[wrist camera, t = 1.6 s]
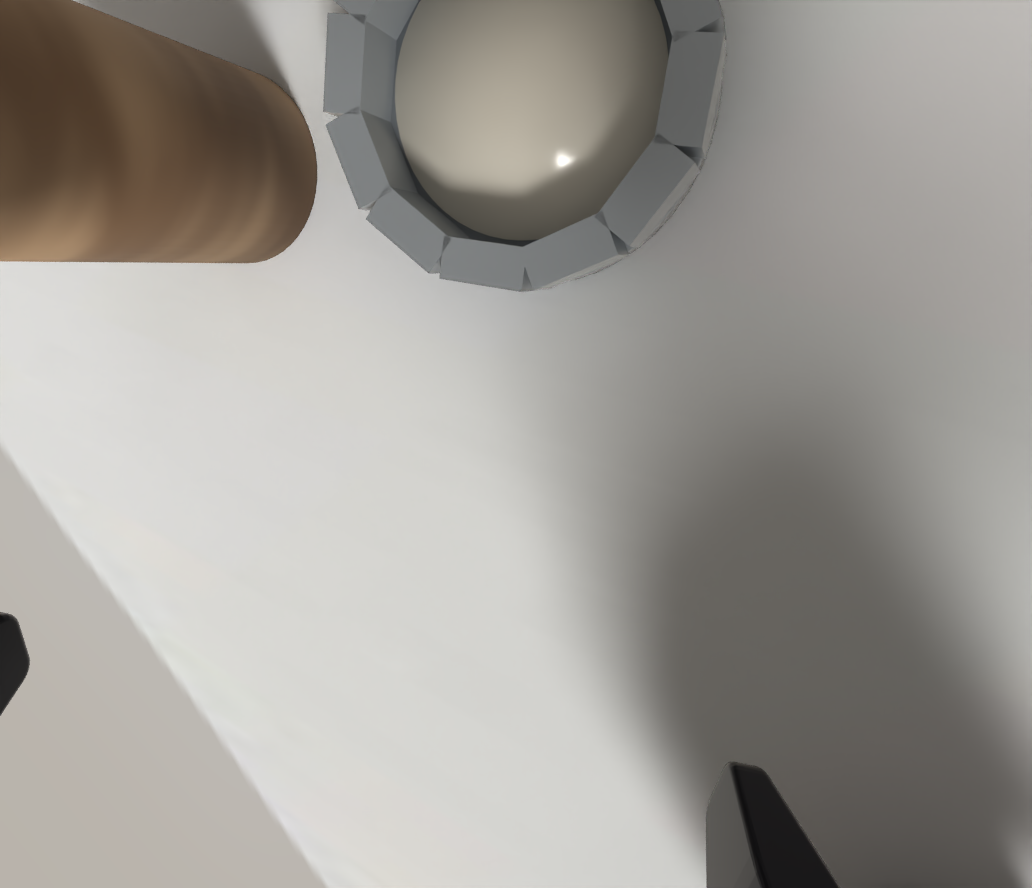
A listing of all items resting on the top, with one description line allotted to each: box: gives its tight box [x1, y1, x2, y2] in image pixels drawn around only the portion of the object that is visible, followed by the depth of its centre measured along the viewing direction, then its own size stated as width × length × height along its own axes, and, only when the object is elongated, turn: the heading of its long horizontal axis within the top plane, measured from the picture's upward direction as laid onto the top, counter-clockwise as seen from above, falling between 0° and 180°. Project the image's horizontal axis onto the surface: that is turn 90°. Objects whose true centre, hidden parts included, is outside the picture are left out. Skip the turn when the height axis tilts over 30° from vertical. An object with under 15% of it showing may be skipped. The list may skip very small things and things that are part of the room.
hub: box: [323, 0, 727, 292], centre depth 16 cm, size 9×9×2 cm
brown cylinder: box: [0, 0, 317, 263], centre depth 14 cm, size 6×6×13 cm
